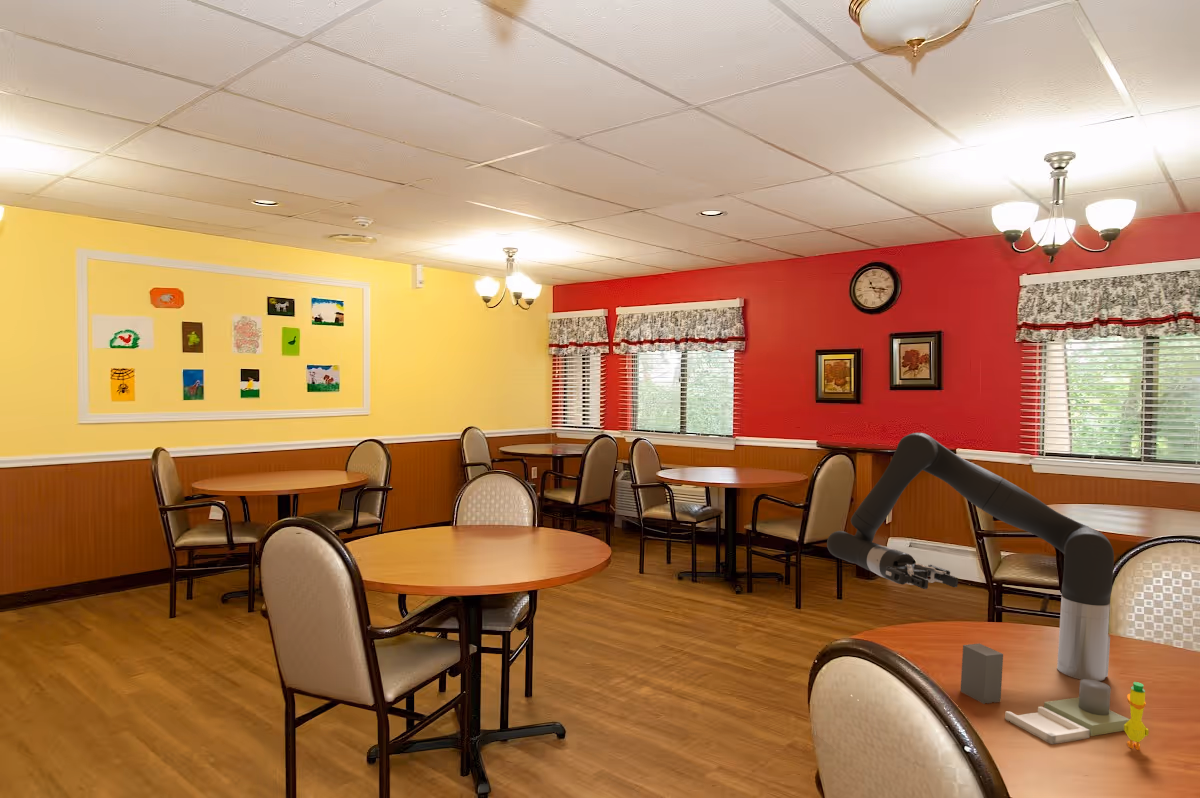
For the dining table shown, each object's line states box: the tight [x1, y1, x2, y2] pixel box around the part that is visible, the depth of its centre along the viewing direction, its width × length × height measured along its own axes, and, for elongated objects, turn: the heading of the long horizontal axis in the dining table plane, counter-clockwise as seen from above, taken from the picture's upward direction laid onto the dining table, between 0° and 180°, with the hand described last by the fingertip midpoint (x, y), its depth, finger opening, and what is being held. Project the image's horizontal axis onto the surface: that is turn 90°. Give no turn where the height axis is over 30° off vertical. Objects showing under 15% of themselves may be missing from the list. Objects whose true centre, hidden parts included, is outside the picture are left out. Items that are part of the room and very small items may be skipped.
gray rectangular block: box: [959, 642, 1004, 705], centre depth 152 cm, size 4×6×10 cm
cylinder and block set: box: [1004, 679, 1131, 745], centre depth 140 cm, size 21×10×7 cm, turn 109°
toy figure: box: [1124, 681, 1150, 751], centre depth 132 cm, size 7×4×12 cm, turn 153°
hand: (941, 583), depth 162 cm, fingers open, 8 cm apart
